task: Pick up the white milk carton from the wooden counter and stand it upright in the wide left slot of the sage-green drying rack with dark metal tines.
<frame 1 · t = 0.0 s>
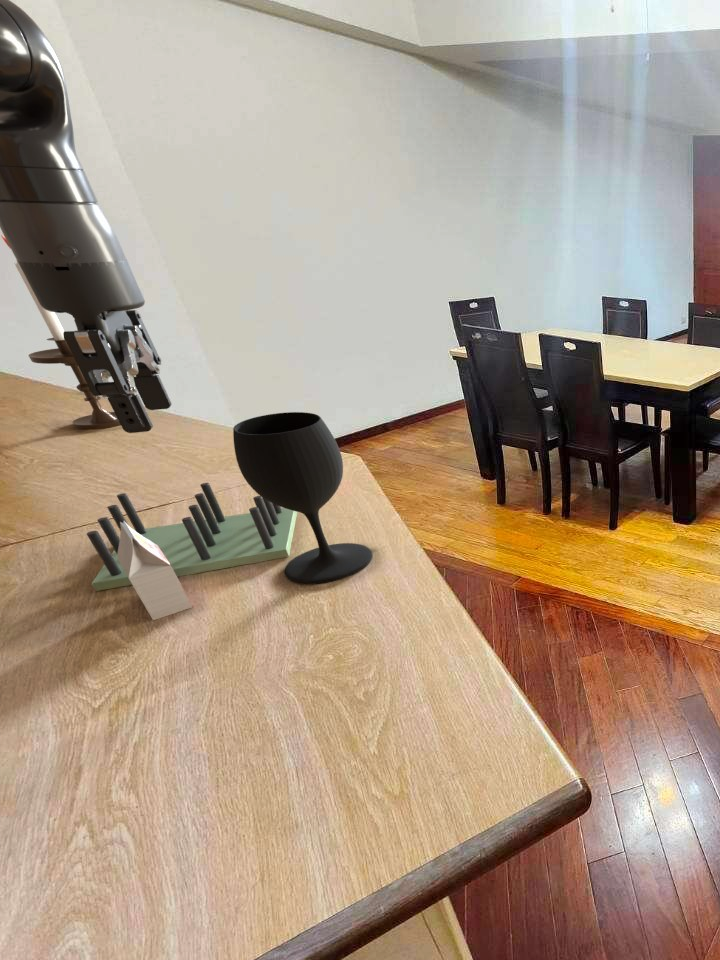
hand: (150, 419, 65), 22 cm above the counter, tool pointing down, fingers open, 8 cm apart
rack: (208, 547, 83), on the counter
candlestick: (105, 423, 125), on the counter
white milk carton: (167, 603, 72), on the counter
wine glass: (330, 565, 81), on the counter
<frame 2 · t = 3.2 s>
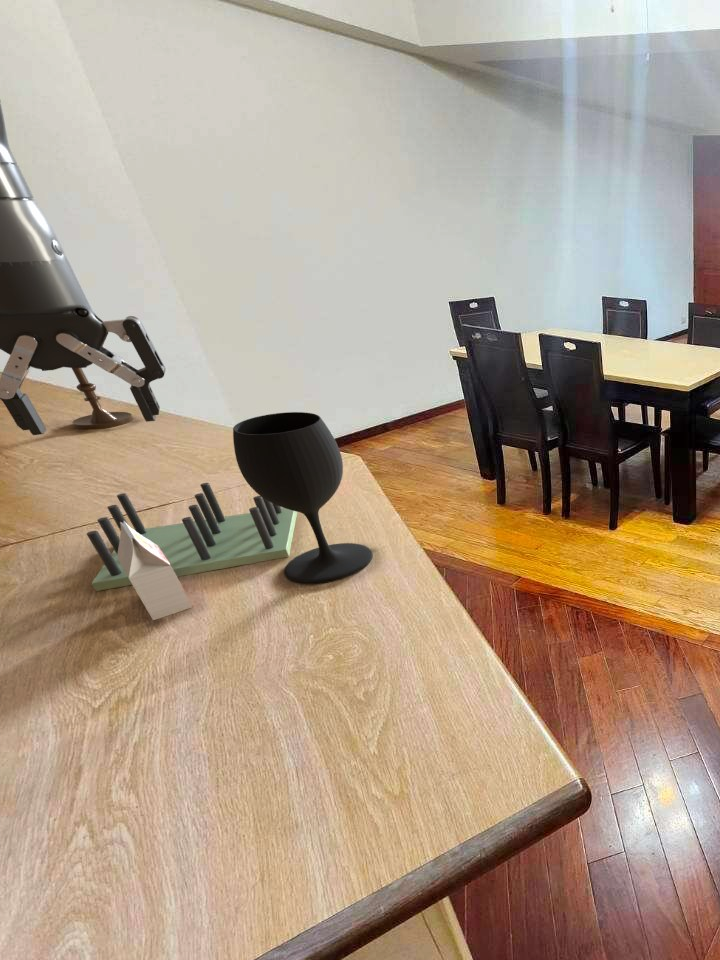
hand: (97, 426, 62), 22 cm above the counter, tool pointing down, fingers open, 8 cm apart
nothing on the counter moved.
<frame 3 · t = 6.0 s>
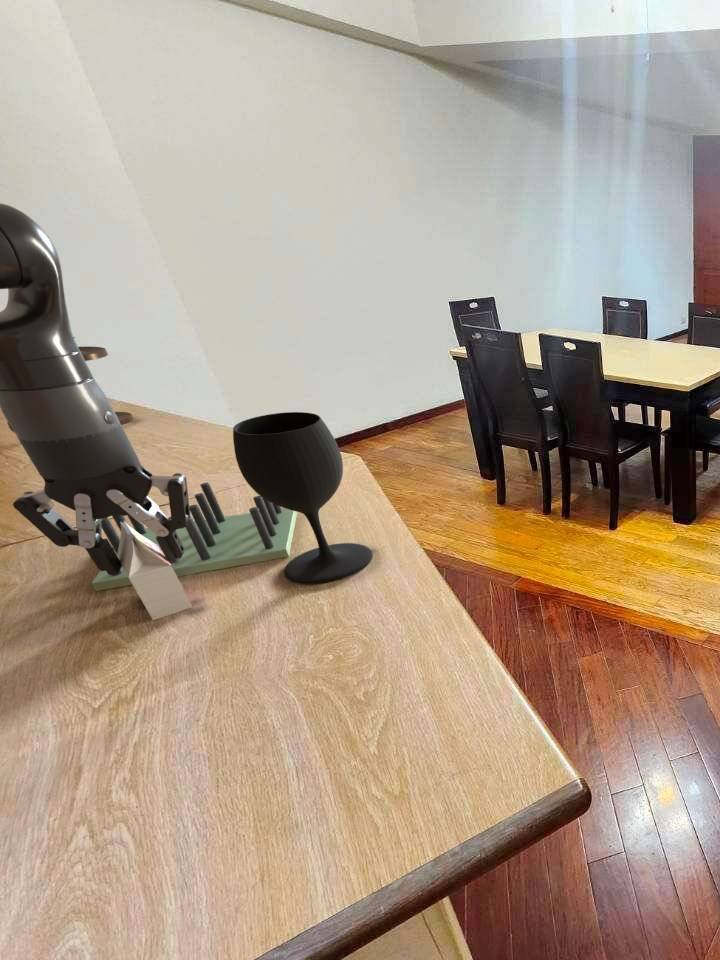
hand: (145, 565, 69), 5 cm above the counter, tool pointing down, fingers closed on white milk carton, 4 cm apart
white milk carton: (167, 603, 72), on the counter, touching gripper
everything else where it was.
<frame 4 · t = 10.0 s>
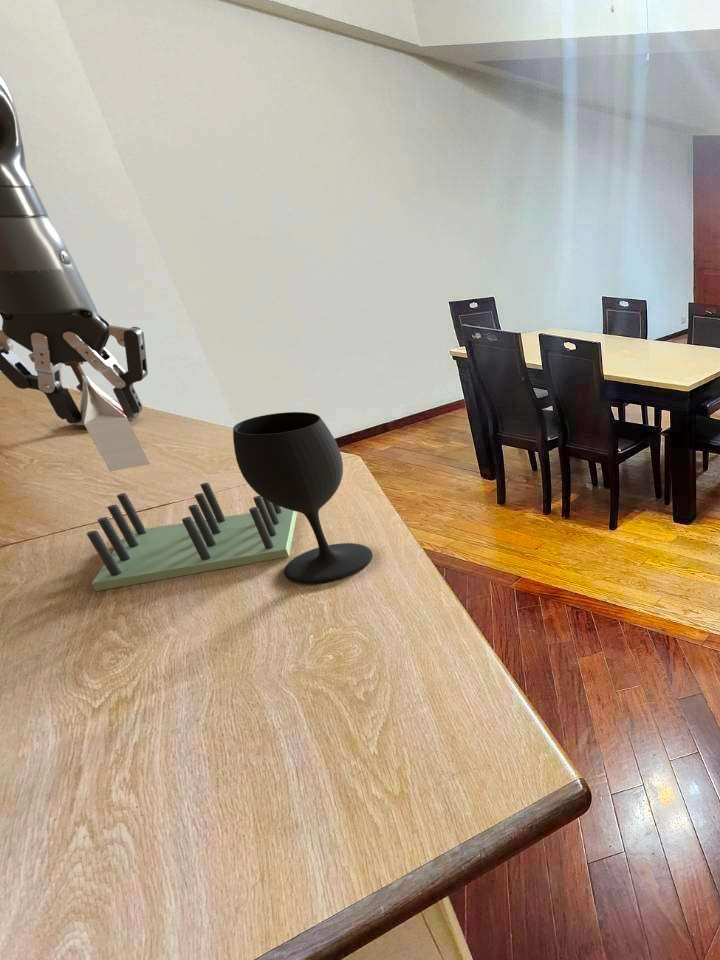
hand: (104, 418, 72), 19 cm above the counter, tool pointing down, fingers closed on white milk carton, 4 cm apart
white milk carton: (127, 461, 74), point 14 cm above the counter, touching gripper
everything else where it was.
when the fingers open (7 cm above the counter, at t = 13.8 s): white milk carton stays where it is, resting on rack.
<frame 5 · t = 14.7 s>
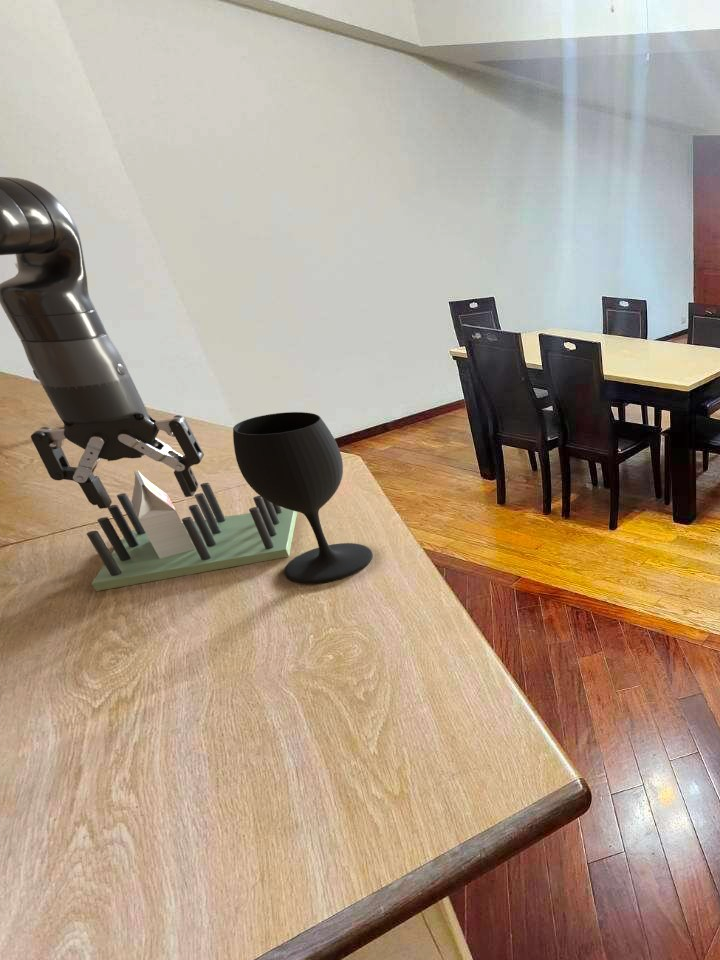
hand: (149, 500, 78), 8 cm above the counter, tool pointing down, fingers open, 8 cm apart
white milk carton: (173, 546, 81), point 1 cm above the counter, touching rack
everything else where it was.
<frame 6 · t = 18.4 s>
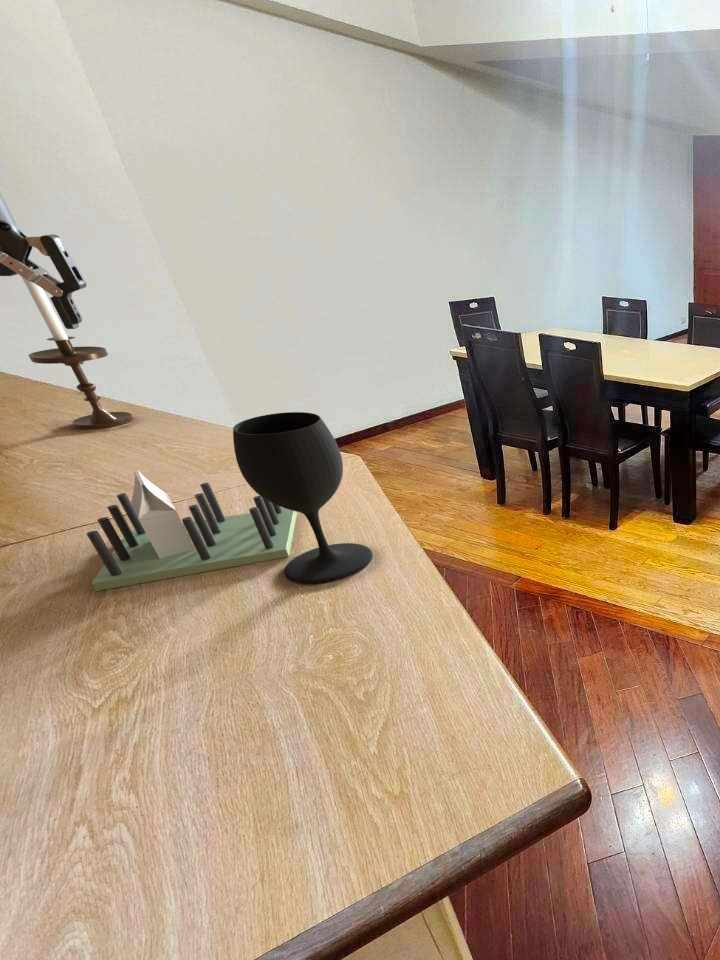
hand: (25, 330, 72), 28 cm above the counter, tool pointing down, fingers open, 8 cm apart
nothing on the counter moved.
at the end: white milk carton inside the target area on the rack (0.1 cm from its centre), point 1.0 cm above the rack's base; white milk carton tilted 0°; the gripper is holding nothing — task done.
